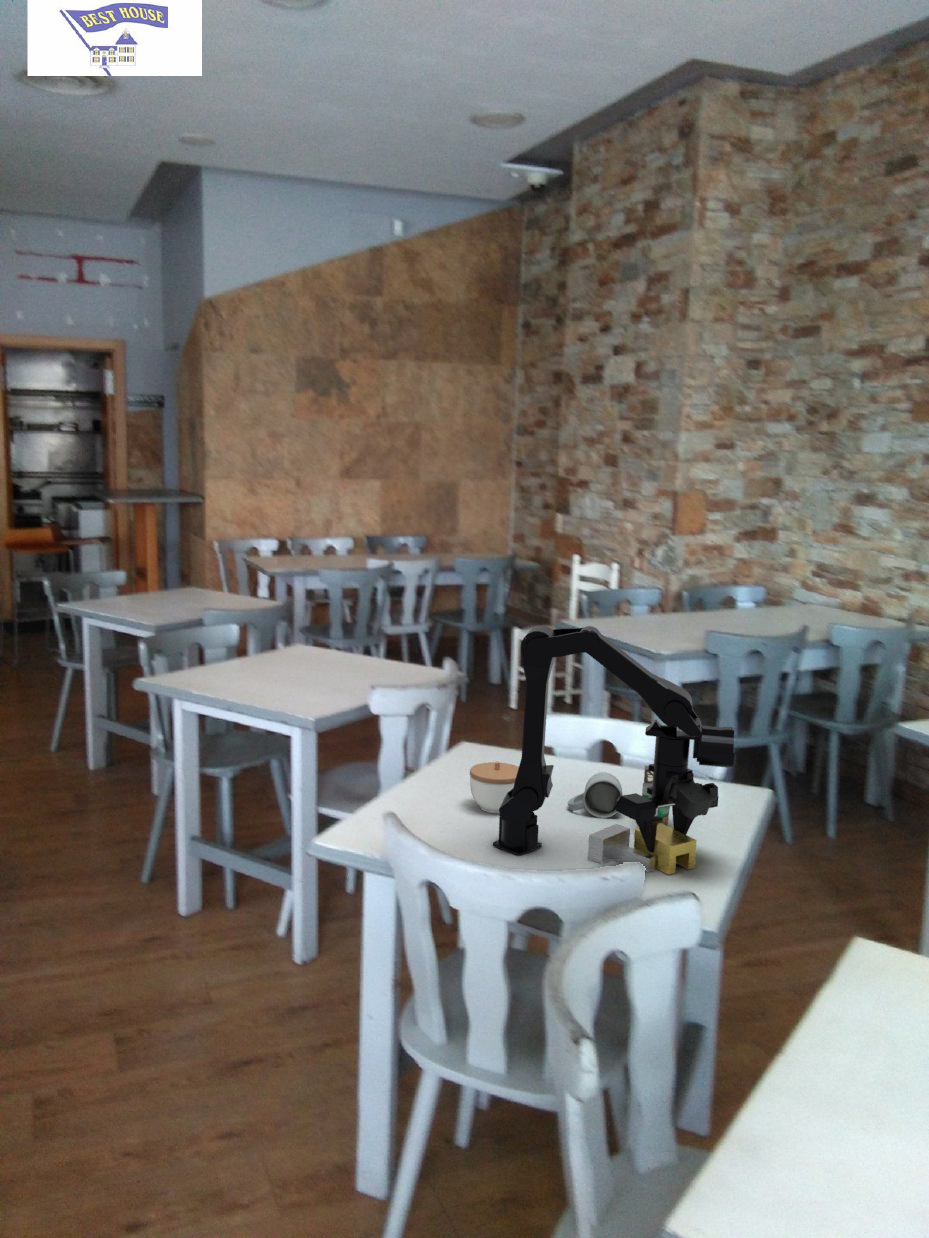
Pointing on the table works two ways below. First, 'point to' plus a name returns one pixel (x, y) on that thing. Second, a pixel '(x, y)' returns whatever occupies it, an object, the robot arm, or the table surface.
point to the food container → (648, 782)
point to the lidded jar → (492, 784)
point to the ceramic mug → (598, 796)
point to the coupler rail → (616, 847)
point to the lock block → (669, 848)
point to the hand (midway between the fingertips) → (664, 848)
